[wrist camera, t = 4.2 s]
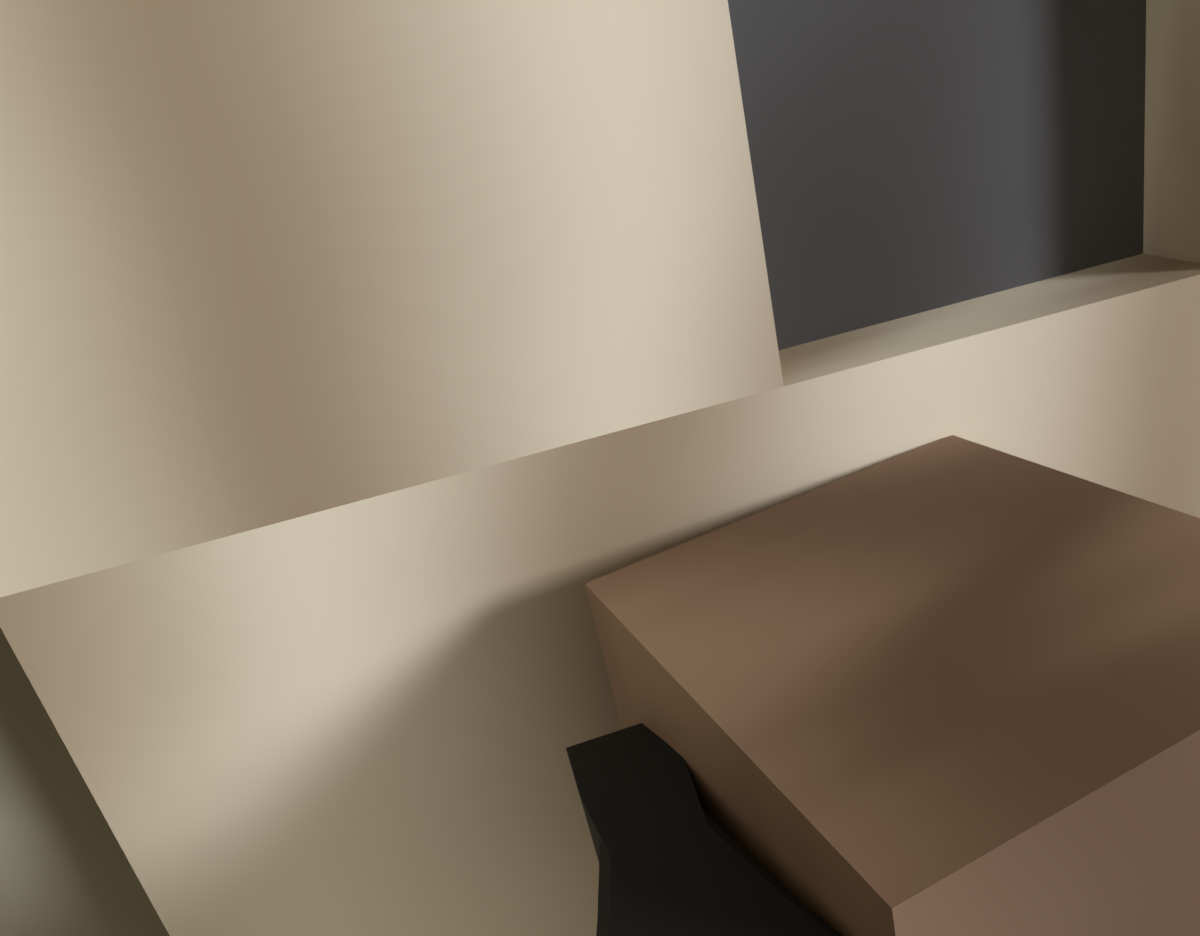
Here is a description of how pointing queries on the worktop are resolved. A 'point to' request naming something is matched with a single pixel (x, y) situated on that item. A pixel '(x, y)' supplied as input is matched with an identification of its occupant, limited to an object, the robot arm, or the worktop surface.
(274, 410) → the trap board
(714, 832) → the robot arm
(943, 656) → the walnut block
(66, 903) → the worktop surface
